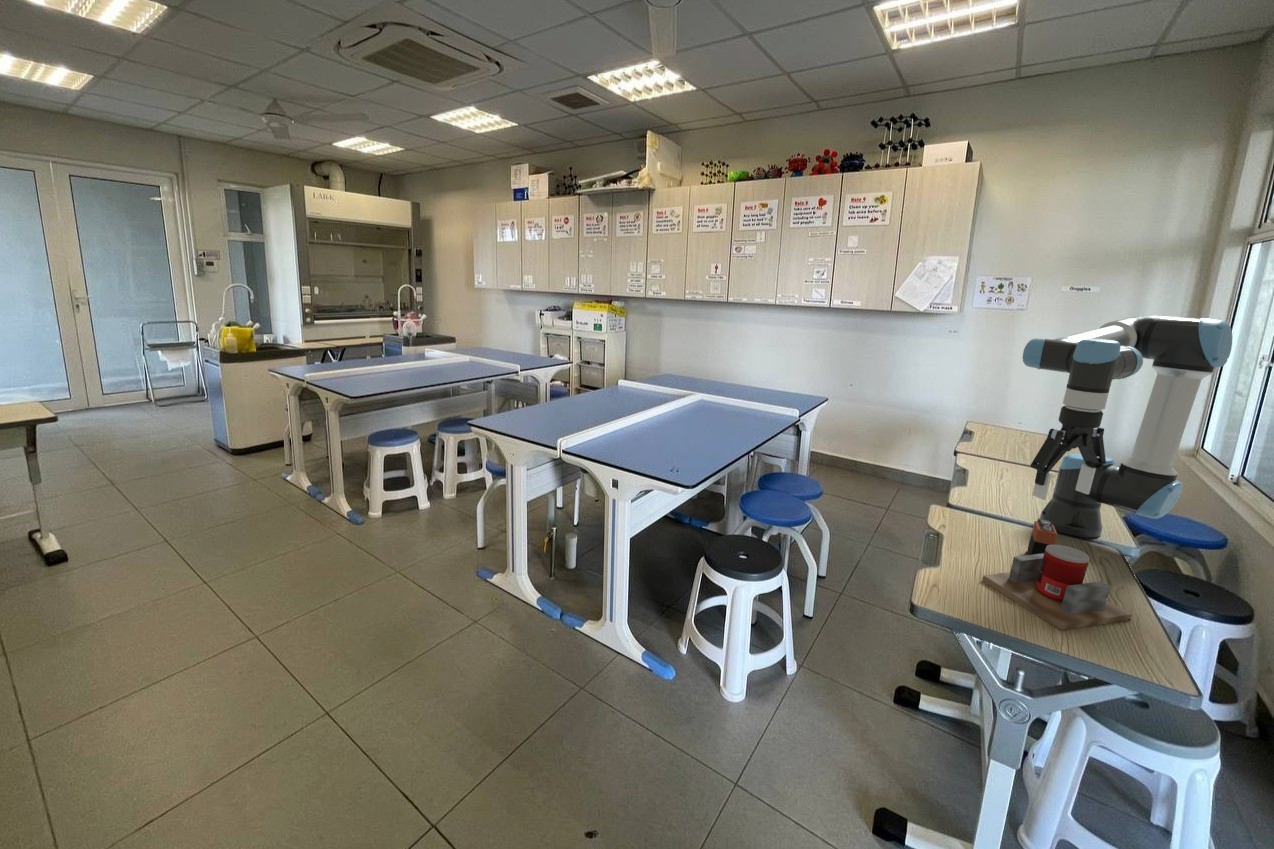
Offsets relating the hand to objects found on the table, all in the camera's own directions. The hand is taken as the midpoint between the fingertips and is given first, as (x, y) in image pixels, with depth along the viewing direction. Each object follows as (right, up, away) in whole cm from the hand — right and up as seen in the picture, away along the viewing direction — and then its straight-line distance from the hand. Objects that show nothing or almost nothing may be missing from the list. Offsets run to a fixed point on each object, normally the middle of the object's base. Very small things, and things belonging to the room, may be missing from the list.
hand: (1060, 494), depth 128 cm
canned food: (-3, -23, -2) cm, 23 cm away
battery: (+8, -20, +18) cm, 28 cm away
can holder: (-3, -24, -1) cm, 25 cm away
